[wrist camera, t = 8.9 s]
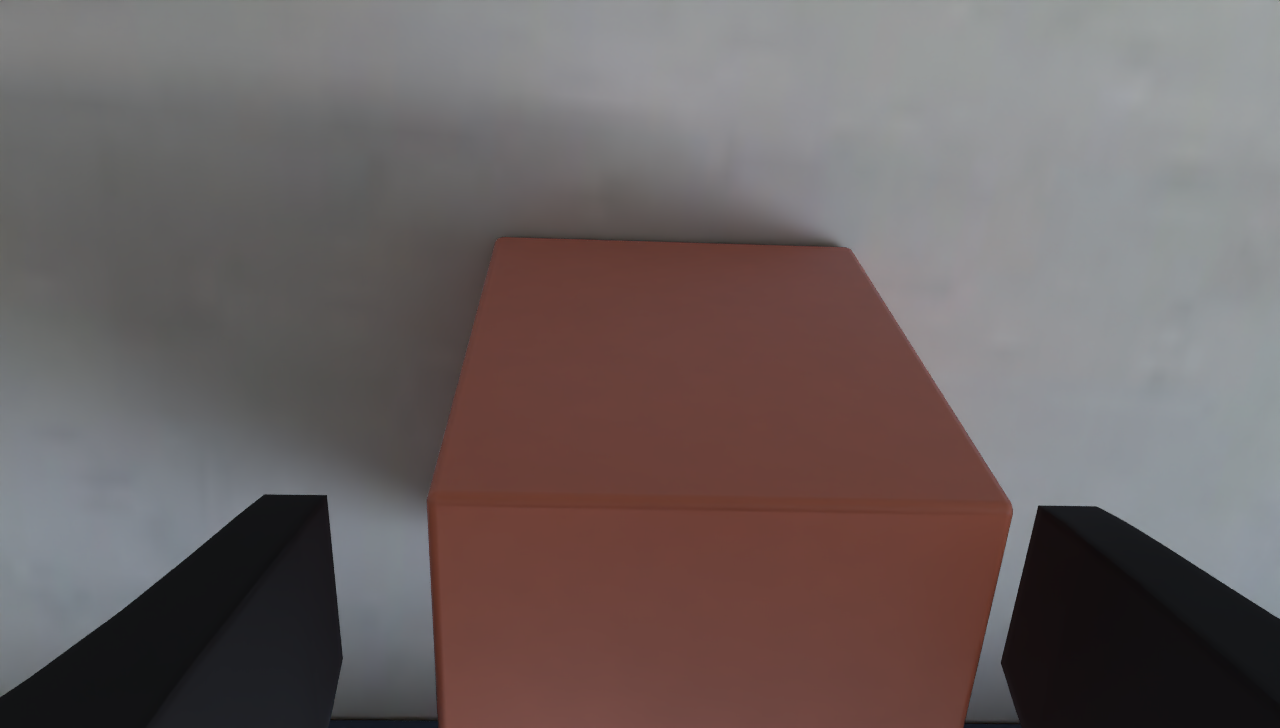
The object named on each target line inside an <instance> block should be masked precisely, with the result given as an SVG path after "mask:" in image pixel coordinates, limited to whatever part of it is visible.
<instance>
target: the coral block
mask: <svg viewBox="0 0 1280 728" xmlns="http://www.w3.org/2000/svg"><path fill="white" fill-rule="evenodd" d="M1012 515H1013V508H1012V504H1011V502H1010V500H1009V499H1008V497H1007V496H1006V494H1005V493H1004V491H1003V489H1002V488H1001V486H1000V485H999V483H998V481H997V480H996V478H995V477H994V475H993V474H992V472H991V470H990V469H989V467H988V466H987V464H986V462H985V461H984V459H983V458H982V456H981V455H980V453H979V451H978V450H977V448H976V447H975V445H974V443H973V442H972V440H971V439H970V437H969V436H968V434H967V432H966V431H965V429H964V428H963V426H962V424H961V423H960V421H959V420H958V418H957V417H956V415H955V413H954V412H953V410H952V409H951V407H950V406H949V404H948V402H947V401H946V399H945V398H944V396H943V394H942V393H941V391H940V390H939V388H938V387H937V385H936V383H935V382H934V380H933V379H932V377H931V375H930V374H929V372H928V371H927V369H926V368H925V366H924V364H923V363H922V361H921V360H920V358H919V356H918V355H917V353H916V352H915V350H914V349H913V347H912V345H911V344H910V342H909V341H908V339H907V337H906V336H905V334H904V333H903V331H902V330H901V328H900V326H899V325H898V323H897V322H896V320H895V319H894V317H893V315H892V314H891V312H890V311H889V309H888V307H887V306H886V304H885V303H884V301H883V300H882V298H881V296H880V295H879V293H878V292H877V290H876V288H875V287H874V285H873V284H872V282H871V281H870V279H869V277H868V276H867V274H866V273H865V271H864V269H863V268H862V266H861V265H860V263H859V262H858V260H857V258H856V257H855V255H854V254H853V252H852V250H851V249H849V248H846V247H817V246H784V245H750V244H717V243H684V242H651V241H617V240H584V239H551V238H517V237H501V238H498V239H497V240H496V242H495V245H494V249H493V252H492V256H491V260H490V264H489V267H488V271H487V275H486V279H485V282H484V286H483V290H482V294H481V297H480V301H479V305H478V309H477V312H476V316H475V320H474V324H473V327H472V331H471V335H470V339H469V343H468V346H467V350H466V354H465V358H464V361H463V365H462V369H461V373H460V376H459V380H458V384H457V388H456V391H455V395H454V399H453V403H452V406H451V410H450V414H449V418H448V421H447V425H446V429H445V433H444V437H443V440H442V444H441V448H440V452H439V455H438V459H437V463H436V467H435V470H434V474H433V478H432V482H431V485H430V489H429V493H428V497H427V517H428V537H429V556H430V576H431V596H432V616H433V635H434V655H435V675H436V695H437V714H438V728H963V727H964V723H965V718H966V714H967V710H968V705H969V701H970V697H971V692H972V688H973V684H974V679H975V675H976V671H977V666H978V662H979V658H980V653H981V649H982V645H983V640H984V636H985V632H986V627H987V623H988V619H989V614H990V610H991V606H992V601H993V597H994V593H995V589H996V584H997V580H998V576H999V571H1000V567H1001V563H1002V558H1003V554H1004V550H1005V545H1006V541H1007V537H1008V532H1009V528H1010V524H1011V519H1012Z"/></svg>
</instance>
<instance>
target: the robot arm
mask: <svg viewBox="0 0 1280 728" xmlns="http://www.w3.org/2000/svg"><path fill="white" fill-rule="evenodd" d="M342 660H343V656H342V646H341V635H340V625H339V615H338V605H337V594H336V584H335V574H334V564H333V553H332V543H331V533H330V522H329V512H328V502H327V495H267V494H265V495H263V496H262V497H261V498H259V499H258V500H257V501H255V502H254V503H253V504H251V505H250V506H249V507H248V508H246V509H245V510H244V511H243V512H242V513H240V514H239V515H238V516H237V517H235V518H234V519H233V520H232V521H231V522H229V523H228V524H227V525H226V526H225V527H223V528H222V529H221V530H220V531H219V532H217V533H216V534H215V535H214V536H213V537H211V538H210V539H209V540H208V541H207V542H205V543H204V544H203V545H202V546H201V547H199V548H198V549H197V550H196V551H195V552H193V553H192V554H191V555H190V556H189V557H187V558H186V559H185V560H184V561H183V562H181V563H180V564H179V565H178V566H176V567H175V568H174V569H173V570H171V571H170V572H169V573H168V574H166V575H165V576H164V577H163V578H161V579H160V580H159V581H158V582H156V583H155V584H154V585H153V586H152V587H150V588H149V589H148V590H147V591H145V592H144V593H143V594H142V595H140V596H139V597H138V598H137V599H135V600H134V601H133V602H132V603H130V604H129V605H128V606H127V607H125V608H124V609H123V610H121V611H120V612H119V613H117V614H116V615H115V616H113V617H112V618H111V619H109V620H108V621H107V622H105V623H104V624H102V625H101V626H100V627H98V628H97V629H96V630H94V631H93V632H91V633H90V634H89V635H87V636H86V637H85V638H83V639H82V640H81V641H79V642H78V643H76V644H75V645H74V646H72V647H71V648H70V649H68V650H67V651H65V652H64V653H63V654H61V655H60V656H59V657H57V658H56V659H55V660H53V661H52V662H50V663H49V664H48V665H46V666H45V667H44V668H42V669H41V670H39V671H38V672H37V673H35V674H34V675H33V676H31V677H30V678H28V679H27V680H25V681H24V682H22V683H21V684H19V685H18V686H17V687H15V688H14V689H12V690H11V691H9V692H8V693H6V694H5V695H3V696H2V697H0V728H328V726H329V722H330V718H331V713H332V709H333V704H334V699H335V694H336V689H337V684H338V679H339V674H340V670H341V665H342ZM1001 665H1002V668H1003V671H1004V674H1005V678H1006V681H1007V684H1008V687H1009V690H1010V694H1011V697H1012V700H1013V703H1014V706H1015V710H1016V713H1017V715H1018V718H1019V721H1020V724H1021V727H1022V728H1280V619H1279V618H1277V617H1275V616H1274V615H1272V614H1271V613H1269V612H1267V611H1266V610H1264V609H1263V608H1261V607H1260V606H1258V605H1256V604H1255V603H1253V602H1252V601H1250V600H1248V599H1247V598H1245V597H1244V596H1242V595H1241V594H1239V593H1237V592H1236V591H1234V590H1233V589H1231V588H1230V587H1228V586H1226V585H1225V584H1223V583H1222V582H1220V581H1219V580H1217V579H1216V578H1214V577H1212V576H1211V575H1209V574H1208V573H1206V572H1205V571H1203V570H1201V569H1200V568H1198V567H1197V566H1195V565H1194V564H1192V563H1191V562H1189V561H1187V560H1186V559H1184V558H1183V557H1181V556H1180V555H1178V554H1177V553H1175V552H1173V551H1172V550H1170V549H1169V548H1167V547H1166V546H1164V545H1162V544H1161V543H1159V542H1157V541H1156V540H1154V539H1153V538H1151V537H1149V536H1148V535H1146V534H1145V533H1143V532H1141V531H1140V530H1138V529H1136V528H1135V527H1133V526H1131V525H1130V524H1128V523H1126V522H1125V521H1123V520H1121V519H1119V518H1118V517H1116V516H1114V515H1112V514H1110V513H1108V512H1106V511H1104V510H1102V509H1101V508H1099V507H1096V506H1038V510H1037V514H1036V518H1035V522H1034V526H1033V530H1032V535H1031V539H1030V543H1029V547H1028V551H1027V555H1026V560H1025V564H1024V568H1023V572H1022V576H1021V581H1020V585H1019V589H1018V593H1017V597H1016V601H1015V606H1014V610H1013V614H1012V618H1011V622H1010V627H1009V631H1008V635H1007V639H1006V643H1005V647H1004V652H1003V656H1002V660H1001Z"/></svg>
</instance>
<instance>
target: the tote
mask: <svg viewBox="0 0 1280 728" xmlns="http://www.w3.org/2000/svg"><path fill="white" fill-rule="evenodd" d="M328 728H438V721H387V720H330V722H329V726H328ZM963 728H1022V727H1021V724H964V727H963Z"/></svg>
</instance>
